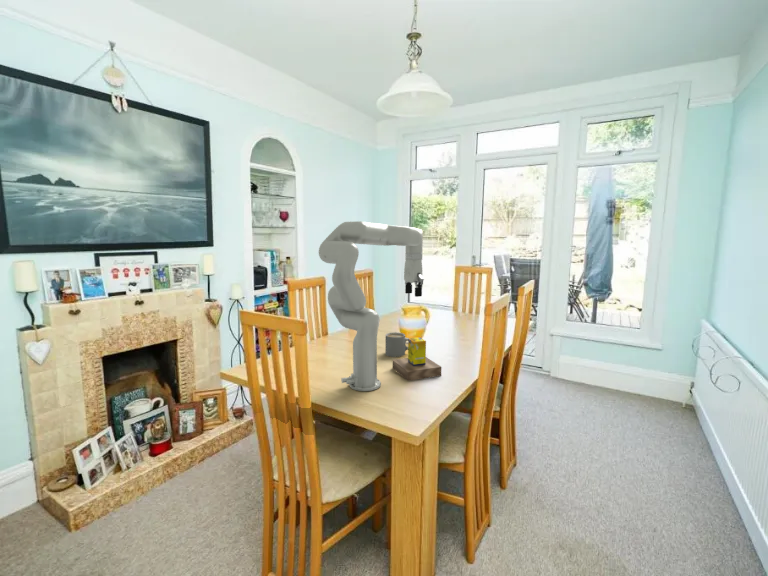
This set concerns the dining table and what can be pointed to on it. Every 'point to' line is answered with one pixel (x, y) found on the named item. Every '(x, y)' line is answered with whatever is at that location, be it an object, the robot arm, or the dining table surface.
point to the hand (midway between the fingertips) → (413, 294)
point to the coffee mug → (395, 344)
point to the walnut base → (416, 369)
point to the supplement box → (416, 351)
